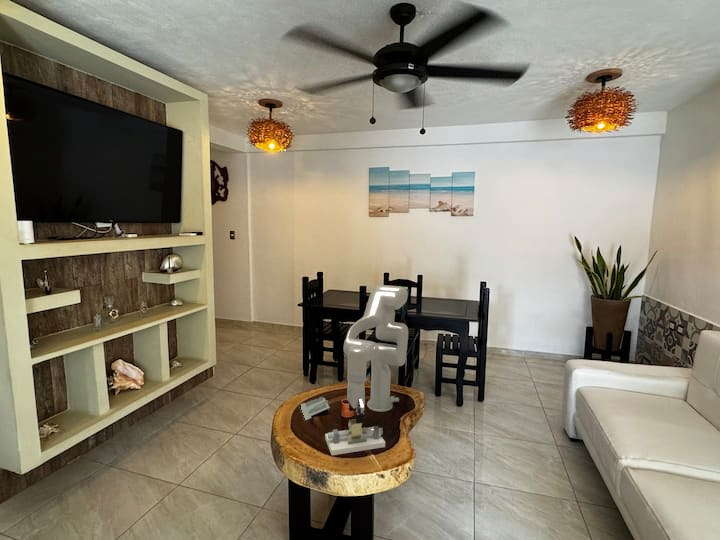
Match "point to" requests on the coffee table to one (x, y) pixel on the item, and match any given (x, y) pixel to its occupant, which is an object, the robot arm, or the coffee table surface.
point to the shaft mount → (351, 442)
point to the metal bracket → (314, 407)
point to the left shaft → (373, 431)
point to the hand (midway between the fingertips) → (356, 416)
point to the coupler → (354, 429)
